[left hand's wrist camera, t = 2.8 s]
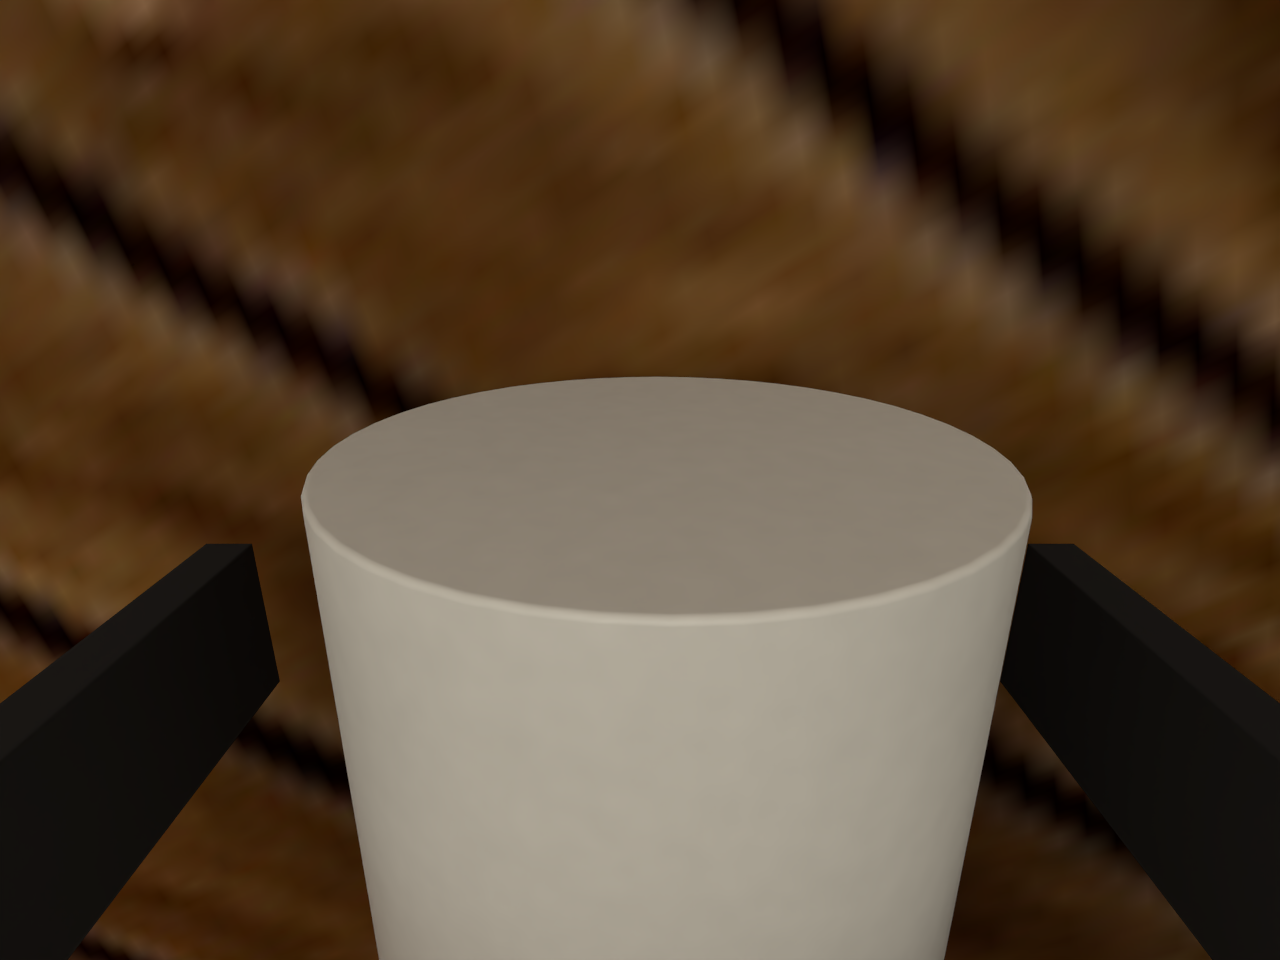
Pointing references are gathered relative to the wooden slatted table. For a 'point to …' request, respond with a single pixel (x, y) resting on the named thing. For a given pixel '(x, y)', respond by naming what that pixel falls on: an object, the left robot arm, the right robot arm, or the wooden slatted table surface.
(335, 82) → the wooden slatted table surface
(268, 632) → the left robot arm
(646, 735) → the rod
